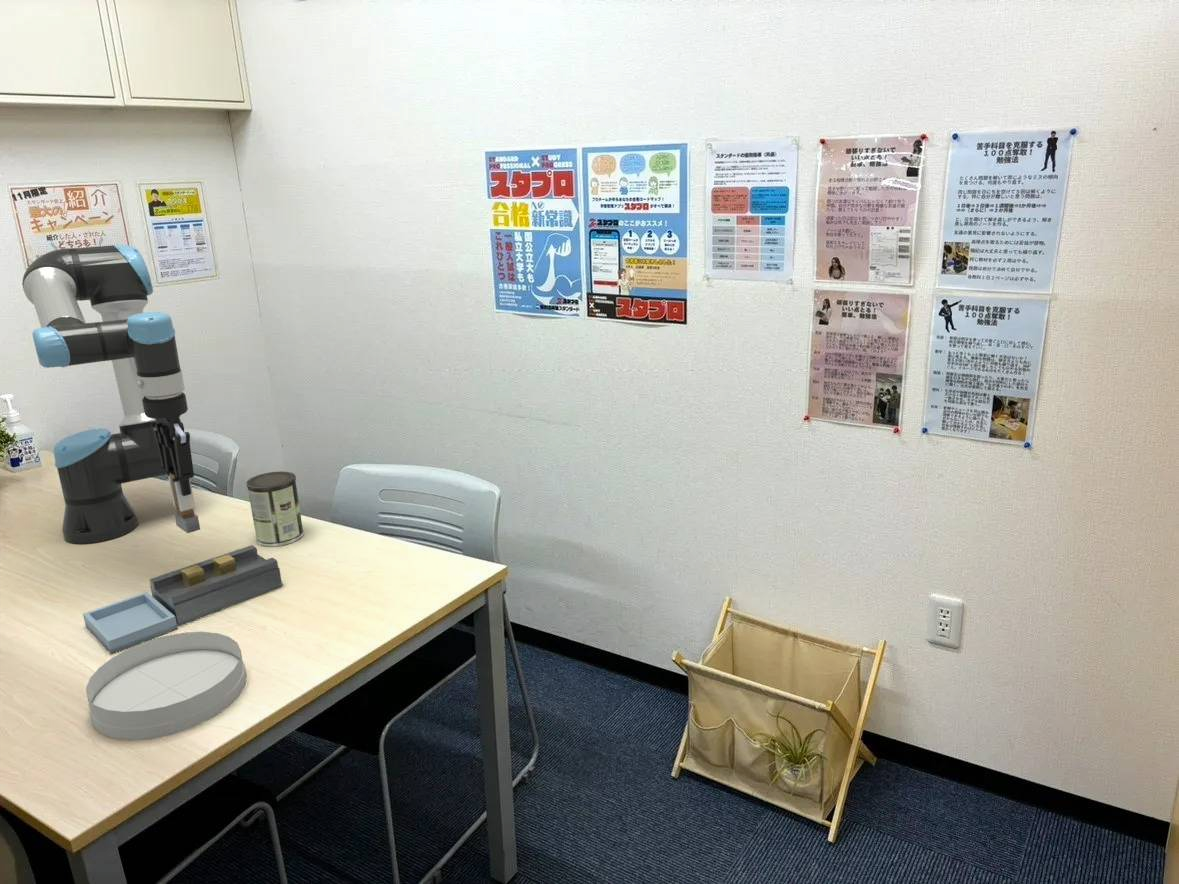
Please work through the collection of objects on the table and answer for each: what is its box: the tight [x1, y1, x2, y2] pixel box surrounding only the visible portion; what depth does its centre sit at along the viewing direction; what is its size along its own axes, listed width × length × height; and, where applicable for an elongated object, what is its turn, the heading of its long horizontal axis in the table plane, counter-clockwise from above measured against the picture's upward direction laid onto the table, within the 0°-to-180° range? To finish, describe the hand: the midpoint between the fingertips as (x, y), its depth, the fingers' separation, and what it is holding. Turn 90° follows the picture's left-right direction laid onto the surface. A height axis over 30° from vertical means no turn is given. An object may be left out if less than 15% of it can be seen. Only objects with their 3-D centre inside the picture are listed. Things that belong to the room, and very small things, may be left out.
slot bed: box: [149, 545, 283, 627], centre depth 159 cm, size 12×20×6 cm, turn 136°
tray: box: [82, 592, 178, 655], centre depth 148 cm, size 14×11×2 cm
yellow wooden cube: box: [181, 565, 206, 587], centre depth 155 cm, size 3×3×3 cm
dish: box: [85, 631, 247, 741], centre depth 128 cm, size 22×22×5 cm
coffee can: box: [245, 471, 305, 547], centre depth 183 cm, size 10×10×14 cm
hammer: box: [170, 472, 201, 534], centre depth 164 cm, size 6×2×12 cm, turn 46°
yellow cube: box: [213, 555, 237, 576], centre depth 159 cm, size 3×3×3 cm
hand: (184, 506), depth 165 cm, fingers closed on hammer, 2 cm apart
